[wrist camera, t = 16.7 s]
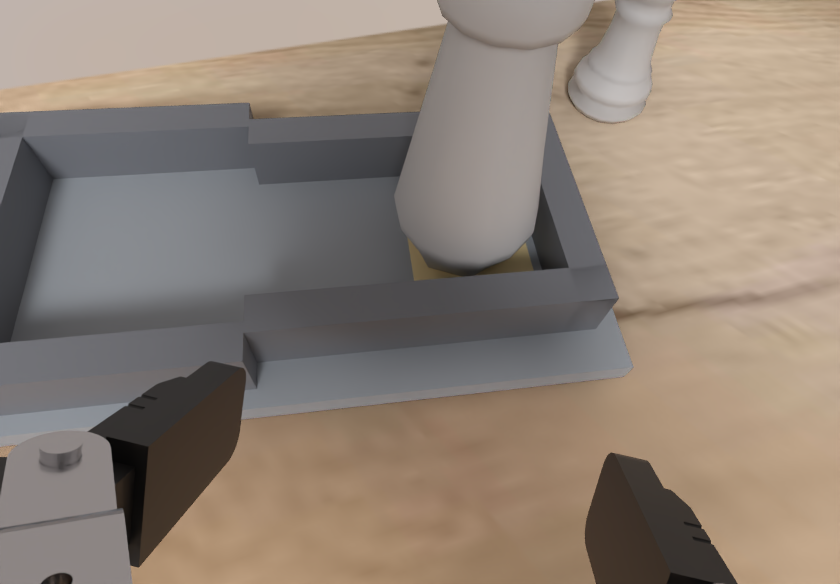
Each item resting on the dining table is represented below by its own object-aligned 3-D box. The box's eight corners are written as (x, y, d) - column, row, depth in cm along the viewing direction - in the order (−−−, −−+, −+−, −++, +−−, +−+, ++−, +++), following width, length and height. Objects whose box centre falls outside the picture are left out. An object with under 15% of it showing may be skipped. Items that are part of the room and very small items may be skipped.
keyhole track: (-76, 455, 19) (-160, 424, 16) (17, 161, 26) (-30, 101, 23) (623, 376, 22) (661, 339, 19) (539, 134, 29) (557, 79, 26)
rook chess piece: (658, 115, 31) (738, -28, 24) (595, 136, 30) (660, -8, 23) (611, 67, 33) (672, -78, 26) (549, 86, 32) (597, -62, 25)
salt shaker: (385, 194, 25) (390, -143, 14) (504, 183, 26) (598, -143, 15) (406, 303, 22) (434, -13, 11) (539, 286, 23) (689, -23, 12)
